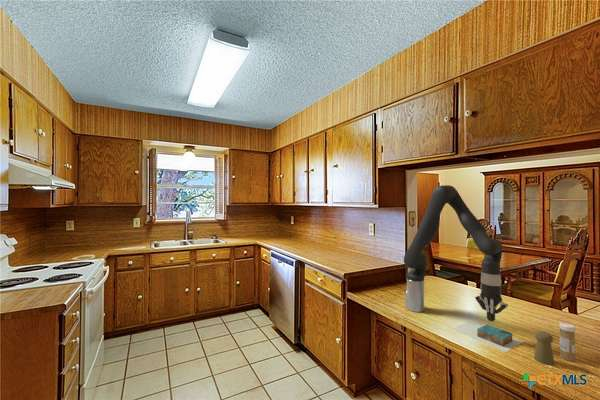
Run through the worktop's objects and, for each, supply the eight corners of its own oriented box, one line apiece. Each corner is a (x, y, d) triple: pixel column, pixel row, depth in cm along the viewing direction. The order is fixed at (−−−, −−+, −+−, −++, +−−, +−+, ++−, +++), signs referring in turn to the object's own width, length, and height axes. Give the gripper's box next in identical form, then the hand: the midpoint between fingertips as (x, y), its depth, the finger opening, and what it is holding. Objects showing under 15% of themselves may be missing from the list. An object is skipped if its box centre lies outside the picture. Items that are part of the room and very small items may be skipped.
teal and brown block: (477, 328, 123) (502, 338, 115) (487, 324, 128) (512, 333, 119) (477, 336, 123) (502, 346, 115) (487, 331, 128) (512, 341, 119)
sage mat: (450, 329, 131) (450, 328, 131) (469, 322, 139) (469, 321, 139) (505, 353, 111) (505, 352, 111) (523, 342, 119) (523, 341, 119)
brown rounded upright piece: (533, 360, 106) (532, 332, 106) (534, 354, 110) (534, 327, 110) (554, 367, 101) (554, 338, 101) (555, 360, 105) (554, 332, 105)
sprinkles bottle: (578, 362, 104) (578, 327, 104) (565, 361, 105) (565, 326, 105) (569, 355, 109) (568, 322, 109) (556, 354, 110) (556, 321, 110)
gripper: (471, 280, 126) (471, 317, 126) (503, 288, 115) (503, 328, 115) (479, 277, 130) (479, 313, 130) (511, 285, 119) (512, 324, 119)
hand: (491, 320), depth 123 cm, fingers closed
